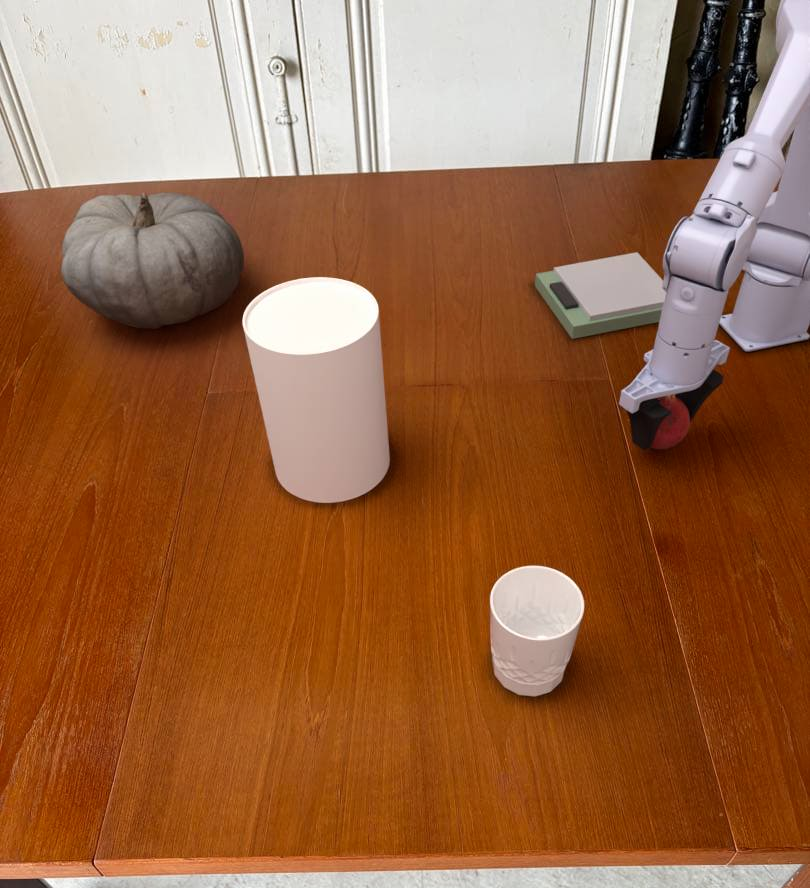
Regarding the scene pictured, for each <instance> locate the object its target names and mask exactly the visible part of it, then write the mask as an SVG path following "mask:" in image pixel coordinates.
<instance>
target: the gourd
mask: <svg viewBox="0 0 810 888" xmlns="http://www.w3.org/2000/svg"><path fill="white" fill-rule="evenodd" d="M61 252H62V261H61V267H60V270H61V271H60V273H61V277H62V280H63V282H64V285H65V286H66V287H67V289H68V290H69V292H70V293H71V294H72V295H73V296H74V297H75V298H76V299H77V300H78V301H79V302H80V303H81V304H82V305H84V306H85V307H87V308H89V309H91V310H92V311H94V312H95V313H96V314H98V315H99V316H102V317H104V318H105V319H108V320H110V321H111V320H112V321H115V322H117V323H120V324H122V325H125V326H129V327H133V328H136V329H151V330H152V329H153V330H155V329H159V328H161V327H163V326H169V325H176V324H183V323H186V322H189V321H190V320H192V319H194V318H196V317H199V316H204V315H205V314H207V313H208V312H210V311H213V310H216V309H217V308H219V307H220V306H222V305H223V304H224V303H225V302H226V301H227V300H228V299H229V298H230V297H231V295H232V294H233V293H234V291H235V290H236V288H237V286H238V284H239V281H240V279H241V276H242V273H243V270H244V262H245V261H244V260H245V255H244V249H243V244H242V242H241V239H240V237H239V235H238V233H237V232H236V230H235V228H234V227H233V226H232V225H231V224H230V223H229V222H228V221H226V219H225V218H224V216H223V215H222V214H221V213H220V212H219V210H217V209H216V208H214V207H213V206H211V205H210V204H208V203H206V202H205V201H203V200H202V199H199V198H198V197H195V196H188V195H185V194H182V193H180V192H157V193H153V194H150V195H147V194H146V192H141V194H140V195H130V194H125V193H121V194H117V195H112V194H102V195H98V196H96V197H94V198H92V199H89V200H88V201H85V202H84V203H82V204H81V206H80V207H79V209H78V211H77V213H76V215H75V216H74V219H73V220H72V223H71V225H70V226H69V227H68V229H67V230H66V232H65V235H64V237H63V241H62V249H61Z"/></svg>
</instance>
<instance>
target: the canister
mask: <svg viewBox="0 0 810 888" xmlns="http://www.w3.org/2000/svg"><path fill="white" fill-rule="evenodd" d="M242 328H243V332H244V337H245V342H246V346H247V350H248V354H249V355H248V356H249V360H250V365H251V368H252V373H253V378H254V382H255V386H256V391H257V395H258V400H259V405H260V409H261V414H262V418H263V423H264V427H265V432H266V437H267V441H268V445H269V449H270V454H271V458H272V464H273V466H274V472H275V476H276V478H277V481H278V482H279V484H280V485H281V486H282V488H283V489H284V490H286V491H287V492H288V493H290V494H291V495H293V496H294V497H296V498H299V499H301V500H304V501H308V502H313V503H319V504H320V503H321V504H332V503H340V502H346V501H350V500H353V499H355V498H359V497H361V496H363V495H365V494H367V493H368V492H370V491H371V490H373V489H374V488H375V487H376V486H377V485H379V483H381V481H382V480H384V477H385V476H386V474H387V472H388V471H389V467H390V462H391V461H390V460H391V457H390V444H389V431H388V418H387V417H388V416H387V405H386V404H387V402H386V390H385V379H384V376H385V375H384V366H383V365H384V364H383V351H382V349H383V348H382V336H381V324H380V310H379V304H378V302H377V299H376V298H375V296H374V295H373V294H372V293H371V292H370V291H369V290H368V289H366V288H364V287H363V286H361V284H357V283H356V282H355V283H354V282H352V281H349V280H345V279H341V278H335V277H328V276H327V277H326V276H324V277H323V276H319V277H317V276H315V277H314V276H313V277H306V278H305V277H304V278H297V279H293V280H288V281H286V282H285V281H284V282H282V283H279V284H277V285H274V286H272V287H270V288H268V289H267V290H264V291H263V292H260V294H258V295H257V296H256V297H254V298H253V299H252V300H251V301H250V302H249V304H248V305H247V306H246V308H245V310H244V312H243V316H242Z"/></svg>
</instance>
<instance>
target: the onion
mask: <svg viewBox="0 0 810 888" xmlns="http://www.w3.org/2000/svg"><path fill="white" fill-rule="evenodd" d="M675 395H676V394H672V395H668V396H663V397H658V400H660V404H661V405H662V406H664V407H665V408H667V409H668V410H670V411H671V413H669V414H668V415H667V416H666V418H665V419H664V420H663V421H662V423H661V424H660V426H659V428H658V430H657V433H656V435H655V438H654V441H653V443H652V445H651V447H650V448H653V449H654V450H666V449H671V448H674V447H675V446H677V445H678V444H679V443H680V442H682V441H683V440H684V438H685V437H686V435H687V433H688V432H689V430H690V426H691V423H690V417H689V411H688V409H687V407H686V406H685V404H684V403H683V402H682V401H681V400H680V399H678V398H677V397H675Z"/></svg>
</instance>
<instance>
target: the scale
mask: <svg viewBox="0 0 810 888" xmlns="http://www.w3.org/2000/svg"><path fill="white" fill-rule="evenodd" d="M663 280H664V279H662V278H661V277H660V275H659V274H658V273H657V272H656V271H655V270H654V269H653V267H651V265H649V263H648V262H647V261H646V260H645V259H644V258H643V257H642V255H641V254H640V253H638V252H637V251H636V252H632V253H625V254H620V255H615V256H610V257H604V258H598V259H593V260H588V261H587V260H586V261H582V262H576V263H570V264H565V265H561V266H555V267H553V270H548V271H543V272H538V273H535V279H534V287H535V289H536V290H537V292H538V293H539V294H540V296H541V297H542V299H543V300H544V301H545V303H546V304H547V306H548V307H549V308H550V310H551V312H552V313H553V314H554V316H555V317H556V319H557V320H558V321H559V323H560V324H561V326H562V327H563V328H564V330H565V331H566V333H567V334H568V336H569V337H570V338H571V340H574V339H579V338H584V337H590V336H594V335H600V334H604V333H610V332H615V331H620V330H625V329H630V328H636V327H641V326H645V325H646V326H647V325H650V324H651V325H652V324H656V323H659V321H660V317H661V313H662V308H663V304H664V299H665V295H666V291H664V289H663V287H662V284H663Z"/></svg>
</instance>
